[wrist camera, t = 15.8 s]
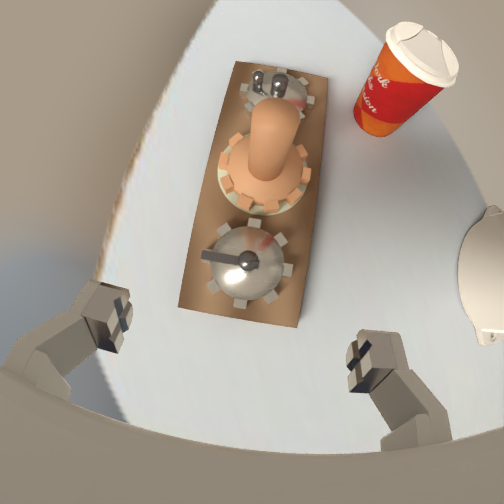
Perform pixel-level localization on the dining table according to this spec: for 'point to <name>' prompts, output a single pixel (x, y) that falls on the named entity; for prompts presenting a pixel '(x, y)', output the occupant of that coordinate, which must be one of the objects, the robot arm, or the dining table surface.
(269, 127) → the idler gear
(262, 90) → the gear
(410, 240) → the dining table surface
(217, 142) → the gear board
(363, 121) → the paper cup
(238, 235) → the gear
